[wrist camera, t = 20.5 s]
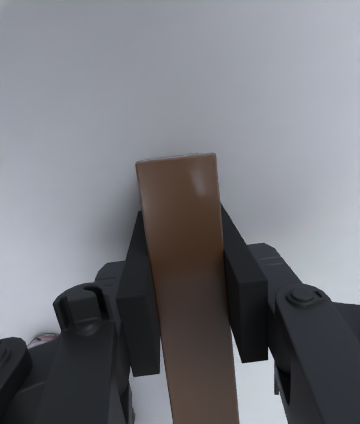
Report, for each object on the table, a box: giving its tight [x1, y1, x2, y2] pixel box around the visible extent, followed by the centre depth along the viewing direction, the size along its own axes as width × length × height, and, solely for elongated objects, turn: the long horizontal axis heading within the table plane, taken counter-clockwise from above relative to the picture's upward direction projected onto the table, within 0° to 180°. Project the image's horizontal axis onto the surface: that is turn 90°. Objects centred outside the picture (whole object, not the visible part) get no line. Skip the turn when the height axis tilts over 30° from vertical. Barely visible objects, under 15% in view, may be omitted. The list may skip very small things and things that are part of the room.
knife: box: [135, 153, 239, 424], centre depth 12 cm, size 20×2×4 cm, turn 7°
